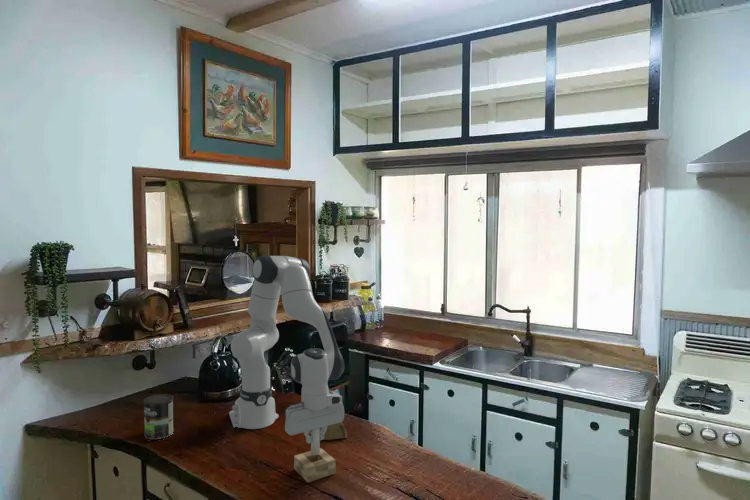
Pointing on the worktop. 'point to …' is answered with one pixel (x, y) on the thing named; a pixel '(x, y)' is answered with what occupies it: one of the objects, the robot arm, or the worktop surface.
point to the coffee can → (158, 416)
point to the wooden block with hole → (314, 465)
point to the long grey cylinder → (315, 441)
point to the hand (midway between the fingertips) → (315, 440)
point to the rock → (335, 431)
